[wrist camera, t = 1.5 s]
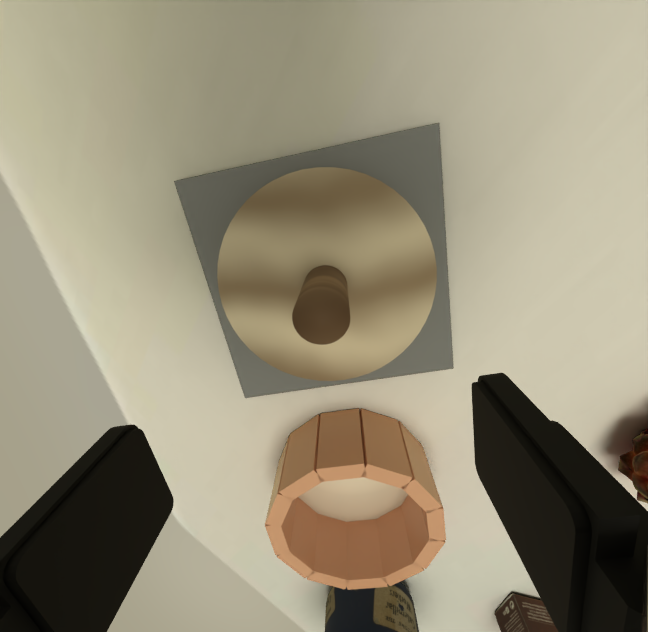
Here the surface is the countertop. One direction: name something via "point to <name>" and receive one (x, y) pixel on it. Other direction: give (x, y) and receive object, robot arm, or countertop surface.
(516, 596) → the box
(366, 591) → the canister
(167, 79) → the countertop surface
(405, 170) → the mat
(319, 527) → the ring
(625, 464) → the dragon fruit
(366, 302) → the lid
